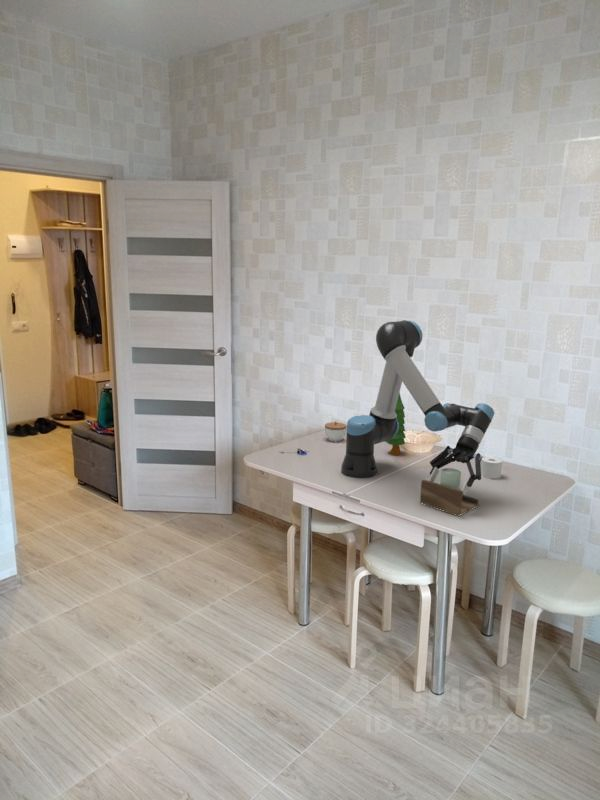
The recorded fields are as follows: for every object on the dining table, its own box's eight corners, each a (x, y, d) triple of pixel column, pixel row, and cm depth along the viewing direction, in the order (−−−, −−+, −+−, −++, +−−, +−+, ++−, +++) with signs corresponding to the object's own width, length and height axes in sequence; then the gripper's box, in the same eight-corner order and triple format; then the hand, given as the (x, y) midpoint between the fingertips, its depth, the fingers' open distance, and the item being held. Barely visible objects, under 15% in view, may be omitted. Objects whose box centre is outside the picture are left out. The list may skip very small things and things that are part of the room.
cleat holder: (440, 494, 236) (442, 471, 234) (478, 505, 225) (480, 482, 223) (420, 503, 226) (421, 480, 224) (458, 516, 215) (460, 491, 213)
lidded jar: (346, 443, 301) (347, 424, 299) (325, 442, 301) (325, 424, 299) (344, 437, 312) (345, 419, 310) (323, 436, 311) (324, 418, 309)
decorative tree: (392, 457, 281) (396, 392, 274) (380, 451, 288) (383, 389, 282) (409, 454, 285) (413, 391, 279) (396, 448, 293) (399, 387, 287)
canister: (442, 506, 221) (444, 474, 218) (436, 499, 228) (438, 468, 225) (461, 506, 222) (463, 474, 219) (454, 498, 228) (457, 468, 226)
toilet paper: (478, 469, 266) (480, 454, 264) (503, 475, 259) (505, 459, 257) (470, 474, 260) (471, 458, 258) (495, 480, 252) (497, 464, 251)
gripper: (503, 453, 223) (480, 502, 216) (444, 439, 240) (420, 484, 233) (498, 442, 218) (473, 492, 211) (437, 428, 235) (412, 474, 228)
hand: (445, 488), depth 222 cm, fingers open, 13 cm apart
